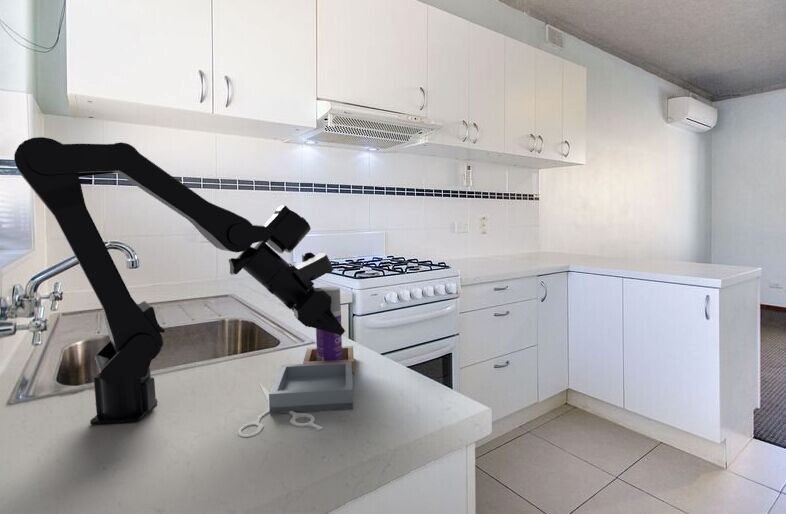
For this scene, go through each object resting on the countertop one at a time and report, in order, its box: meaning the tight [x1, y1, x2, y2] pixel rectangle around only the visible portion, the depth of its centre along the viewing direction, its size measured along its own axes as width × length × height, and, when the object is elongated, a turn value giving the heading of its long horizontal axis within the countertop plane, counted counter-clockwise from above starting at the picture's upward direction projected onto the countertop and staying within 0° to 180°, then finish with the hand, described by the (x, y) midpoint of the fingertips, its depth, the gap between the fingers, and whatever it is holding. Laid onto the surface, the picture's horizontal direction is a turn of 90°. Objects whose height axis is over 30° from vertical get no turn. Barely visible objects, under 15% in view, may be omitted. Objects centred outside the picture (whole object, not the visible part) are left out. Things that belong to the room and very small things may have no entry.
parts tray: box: [268, 362, 354, 415], centre depth 68 cm, size 12×12×3 cm
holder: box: [302, 345, 355, 376], centre depth 80 cm, size 9×9×2 cm
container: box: [315, 286, 343, 361], centre depth 80 cm, size 5×5×15 cm
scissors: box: [237, 383, 323, 438], centre depth 65 cm, size 11×1×20 cm
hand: (335, 326), depth 80 cm, fingers open, 9 cm apart
